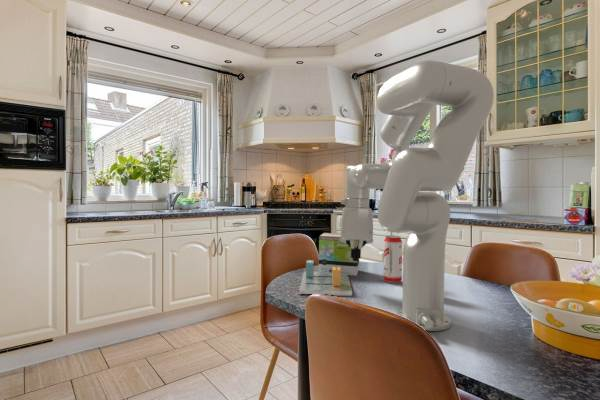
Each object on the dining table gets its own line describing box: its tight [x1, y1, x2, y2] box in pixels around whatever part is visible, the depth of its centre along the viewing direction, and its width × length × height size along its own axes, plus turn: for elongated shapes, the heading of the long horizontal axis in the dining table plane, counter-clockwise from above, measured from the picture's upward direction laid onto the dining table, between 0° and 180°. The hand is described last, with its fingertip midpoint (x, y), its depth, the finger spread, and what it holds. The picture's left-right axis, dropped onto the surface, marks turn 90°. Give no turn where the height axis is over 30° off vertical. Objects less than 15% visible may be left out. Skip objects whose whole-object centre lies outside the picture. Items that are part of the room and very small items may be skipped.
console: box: [298, 270, 353, 297], centre depth 117 cm, size 24×16×2 cm, turn 176°
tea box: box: [318, 232, 360, 277], centre depth 135 cm, size 15×10×15 cm
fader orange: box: [332, 267, 341, 286], centre depth 111 cm, size 4×2×5 cm, turn 176°
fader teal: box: [305, 259, 315, 277], centre depth 122 cm, size 4×2×5 cm, turn 176°
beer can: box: [382, 234, 403, 285], centre depth 121 cm, size 6×6×16 cm
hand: (355, 260), depth 112 cm, fingers closed
